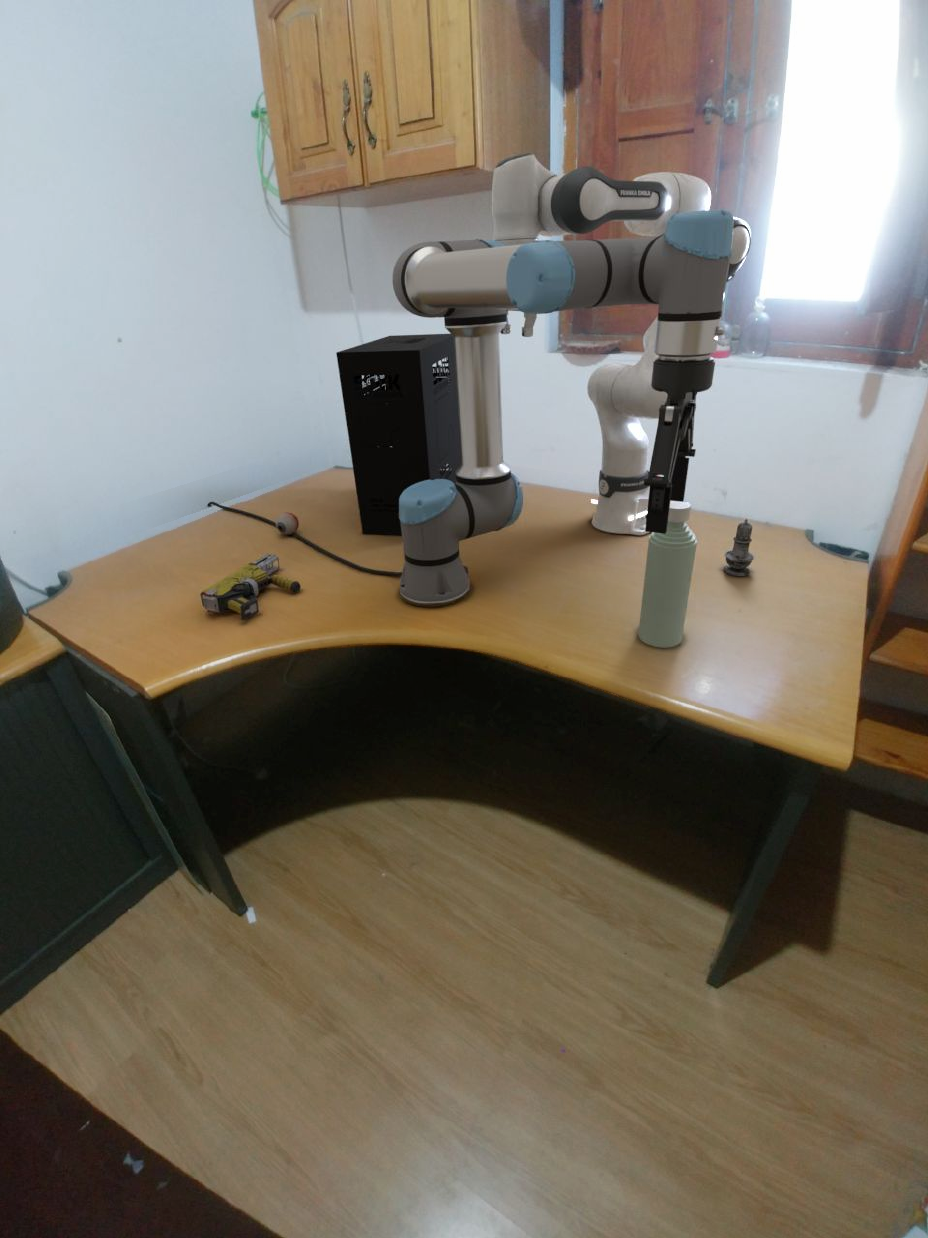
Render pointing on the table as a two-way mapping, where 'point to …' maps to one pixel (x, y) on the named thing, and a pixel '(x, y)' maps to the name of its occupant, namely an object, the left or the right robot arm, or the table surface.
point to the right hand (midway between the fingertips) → (516, 335)
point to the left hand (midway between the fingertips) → (665, 515)
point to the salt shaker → (740, 551)
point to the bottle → (667, 585)
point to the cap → (679, 511)
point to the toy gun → (245, 588)
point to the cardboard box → (399, 420)
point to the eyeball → (287, 523)
